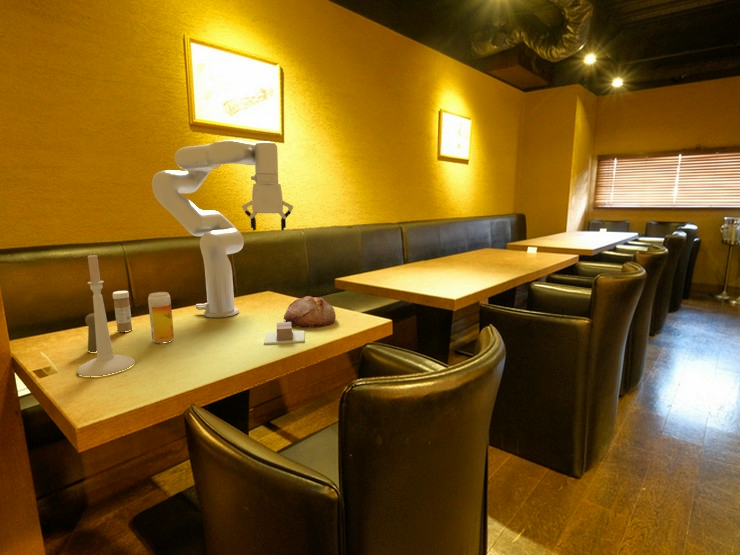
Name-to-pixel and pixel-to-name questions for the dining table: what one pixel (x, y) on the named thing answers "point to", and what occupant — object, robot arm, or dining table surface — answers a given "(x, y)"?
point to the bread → (310, 312)
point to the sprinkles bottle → (122, 311)
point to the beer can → (161, 317)
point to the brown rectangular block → (284, 331)
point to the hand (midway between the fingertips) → (268, 230)
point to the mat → (272, 339)
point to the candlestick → (102, 333)
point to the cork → (91, 332)
